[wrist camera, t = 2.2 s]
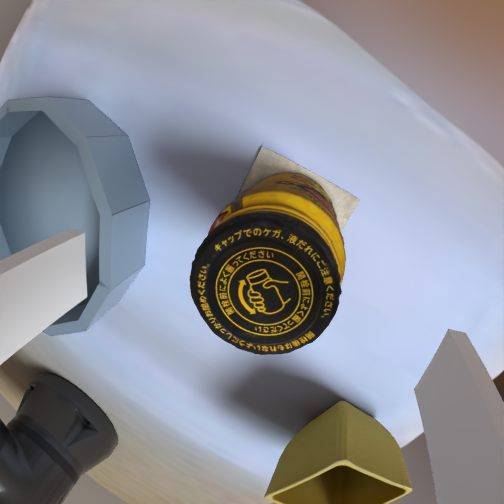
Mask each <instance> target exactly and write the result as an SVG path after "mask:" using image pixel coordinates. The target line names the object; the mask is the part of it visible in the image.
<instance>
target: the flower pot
mask: <svg viewBox="0 0 504 504" xmlns="http://www.w3.org/2000/svg"><path fill="white" fill-rule="evenodd" d="M411 491H412V486H411V483H410V479H409V476H408V472H407V469H406V465H405V462H404V459H403V456H402V453H401V450H400V447H399V445H398V444H397V442H396V440H395V439H394V437H393V436H392V435H391V434H390V432H389V431H388V430H387V429H386V428H385V427H384V426H383V425H382V424H380V423H379V422H378V421H377V420H376V419H374V418H372V417H371V416H369V415H367V414H366V413H364V412H362V411H361V410H359V409H357V408H356V407H354V406H353V405H351V404H350V403H348V402H346V401H343V400H342V401H339V402H337V403H336V404H334V405H333V406H332V407H330V408H329V409H328V410H326V411H325V412H324V413H322V414H321V415H319V416H318V417H316V418H315V419H313V420H312V421H310V422H309V423H308V424H306V425H305V426H304V427H303V428H302V429H301V430H300V431H299V432H298V433H297V434H296V435H295V436H294V437H293V438H292V440H291V441H290V442H289V443H288V445H287V446H286V448H285V449H284V451H283V453H282V455H281V457H280V459H279V461H278V464H277V467H276V469H275V472H274V474H273V477H272V479H271V482H270V484H269V487H268V489H267V492H266V494H265V496H264V497H265V498H267V499H268V500H270V501H272V502H275V503H277V504H388V503H390V502H392V501H394V500H396V499H398V498H400V497H403V496H404V495H406V494H407V493H409V492H411Z"/></svg>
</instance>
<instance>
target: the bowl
mask: <svg viewBox="0 0 504 504" xmlns="http://www.w3.org/2000/svg"><path fill="white" fill-rule="evenodd" d="M149 200H150V199H149V196H148V193H147V190H146V188H145V185H144V182H143V179H142V176H141V173H140V170H139V167H138V165H137V162H136V159H135V156H134V153H133V149H132V146H131V143H130V140H129V137H128V135H127V134H126V133H125V132H124V131H122V130H121V129H120V128H119V127H118V126H117V125H116V124H115V123H114V122H112V121H111V120H110V119H109V118H108V117H107V116H106V115H105V114H103V113H102V112H101V111H100V110H99V109H98V108H97V107H96V106H95V105H93V104H92V103H91V102H90V101H89V100H82V99H70V98H56V97H37V98H25V99H14V100H7V102H6V103H5V104H4V105H3V106H2V107H1V108H0V261H1V260H3V259H5V258H7V257H9V256H11V255H13V254H15V253H17V252H19V251H21V250H23V249H26V248H28V247H30V246H32V245H34V244H36V243H38V242H41V241H43V240H45V239H47V238H49V237H52V236H54V235H56V234H59V233H61V232H63V231H65V230H68V229H70V228H72V229H75V230H79V231H82V232H85V259H86V283H87V298H85V299H84V300H82V301H81V302H80V303H78V304H77V305H76V306H74V307H73V308H72V309H70V310H69V311H68V312H66V313H65V314H64V315H62V316H61V317H60V318H59V319H57V320H56V321H55V322H53V323H52V324H51V325H49V326H48V327H47V328H46V329H44V330H43V331H42V332H44V333H46V334H48V335H50V336H55V335H62V334H69V333H76V332H82V331H86V330H88V329H89V328H90V327H91V326H92V325H93V324H94V323H96V322H97V321H98V320H99V319H100V318H101V317H102V316H104V315H105V314H106V313H107V312H108V311H109V310H110V309H112V308H113V307H114V306H115V305H116V304H117V303H118V302H119V301H120V299H121V298H122V296H123V295H124V293H125V292H126V291H127V289H128V288H129V286H130V285H131V283H132V282H133V281H134V279H135V278H136V276H137V275H138V274H139V272H140V271H141V269H142V268H143V267H144V265H145V252H146V239H147V227H148V216H149V206H150V201H149Z"/></svg>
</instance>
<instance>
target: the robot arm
mask: <svg viewBox="0 0 504 504" xmlns="http://www.w3.org/2000/svg"><path fill="white" fill-rule="evenodd" d="M85 298H87V283H86V259H85V232H82V231H79V230H75V229H72V228H70V229H68V230H65V231H63V232H61V233H59V234H56V235H54V236H52V237H49V238H47V239H45V240H43V241H41V242H38V243H36V244H34V245H32V246H30V247H28V248H26V249H23V250H21V251H19V252H17V253H15V254H13V255H11V256H9V257H7V258H5V259H3V260H1V261H0V365H1V364H2V363H3V362H4V361H6V360H7V359H8V358H9V357H10V356H12V355H13V354H14V353H15V352H17V351H18V350H19V349H20V348H22V347H23V346H24V345H25V344H27V343H28V342H29V341H30V340H32V339H33V338H34V337H35V336H37V335H38V334H39V333H40V332H42V331H43V330H44V329H46V328H47V327H48V326H49V325H51V324H52V323H53V322H55V321H56V320H57V319H59V318H60V317H61V316H62V315H64V314H65V313H66V312H68V311H69V310H70V309H72V308H73V307H74V306H76V305H77V304H78V303H80V302H81V301H82V300H84V299H85ZM414 391H415V395H416V398H417V402H418V406H419V410H420V415H421V419H422V423H423V428H424V432H425V436H426V441H427V446H428V451H429V457H430V462H431V467H432V473H433V479H434V485H435V492H436V499H437V504H504V403H503V401H502V399H501V397H500V395H499V393H498V391H497V389H496V387H495V385H494V383H493V381H492V379H491V377H490V375H489V373H488V371H487V370H486V368H485V366H484V364H483V362H482V361H481V359H480V357H479V355H478V353H477V352H476V350H475V348H474V347H473V345H472V343H471V341H470V340H469V338H468V336H467V335H466V333H464V332H460V331H455V330H451V329H448V331H447V333H446V335H445V337H444V339H443V341H442V342H441V344H440V346H439V348H438V350H437V352H436V353H435V355H434V357H433V359H432V361H431V362H430V364H429V366H428V367H427V369H426V371H425V373H424V374H423V376H422V377H421V379H420V381H419V382H418V384H417V386H416V387H415V389H414ZM117 444H118V436H117V433H116V431H115V429H114V427H113V425H112V424H111V422H110V421H109V419H108V418H107V417H106V415H105V414H104V413H103V412H102V411H101V409H100V408H99V407H98V406H97V405H96V404H95V403H94V402H93V401H92V400H91V399H90V398H89V397H87V396H86V395H85V394H84V393H83V392H81V391H80V390H79V389H78V388H76V387H75V386H74V385H72V384H71V383H69V382H68V381H66V380H64V379H62V378H60V377H58V376H56V375H53V374H50V373H41V374H39V375H38V376H37V377H36V378H35V379H34V380H33V381H32V382H31V383H30V384H29V386H28V388H27V391H26V393H25V395H24V397H23V399H22V401H21V404H20V406H19V408H18V411H17V413H16V415H15V417H14V418H13V419H12V420H11V421H10V422H9V423H8V424H7V426H5V424H4V423H3V422H2V421H1V419H0V504H62V503H63V501H64V500H65V498H66V497H67V495H68V494H69V492H70V491H71V489H72V488H73V486H74V485H75V483H76V482H77V481H78V479H79V478H80V476H81V475H82V474H84V473H85V472H87V471H88V470H90V469H91V468H93V467H94V466H96V465H97V464H99V463H100V462H102V461H103V460H105V459H106V458H108V457H109V456H110V455H111V454H112V452H113V451H114V449H115V448H116V446H117Z"/></svg>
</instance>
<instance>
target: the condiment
mask: <svg viewBox="0 0 504 504" xmlns="http://www.w3.org/2000/svg"><path fill="white" fill-rule="evenodd" d="M359 201H360V200H359V199H358V198H356V197H354V196H353V195H351V194H349V193H348V192H346V191H344V190H343V189H341V188H339V187H337V186H336V185H334V184H332V183H330V182H329V181H327V180H325V179H323V178H322V177H320V176H318V175H316V174H314V173H313V172H311V171H309V170H307V169H305V168H303V167H301V166H300V165H298V164H296V163H294V162H292V161H290V160H288V159H287V158H284V157H282V156H280V155H278V154H277V153H275V152H273V151H271V150H269V149H267V148H265V147H263V146H262V148H261V150H260V152H259V154H258V156H257V158H256V160H255V162H254V164H253V166H252V168H251V170H250V172H249V174H248V176H247V178H246V180H245V182H244V184H243V186H242V188H241V190H240V192H239V194H238V196H237V198H236V200H235V201H233V202H232V203H230V204H228V205H227V206H226V207H225V209H224V210H223V211H222V212H221V213H220V214H219V215H218V217H217V218H216V220H215V222H214V223H213V225H212V226H211V228H210V231H209V233H208V236H207V237H206V238H205V239H204V241H203V243H202V244H201V245H200V247H199V248H198V249H197V252H196V254H195V260H194V261H193V262H192V269H191V275H190V289H191V296H192V298H193V301H194V303H195V305H196V307H197V309H198V311H199V313H200V315H201V317H202V318H203V319H204V321H205V322H206V323H207V325H208V326H209V328H210V329H211V330H212V331H213V332H214V334H216V335H217V336H218V337H220V338H221V339H223V340H224V341H226V342H228V343H230V344H232V345H233V346H235V347H237V348H238V349H241V350H245V351H248V352H252V353H254V354H260V355H267V354H284V353H290V352H292V351H294V350H296V349H299V348H301V347H303V346H305V345H307V344H309V343H312V342H313V341H314V340H316V339H317V338H318V337H319V336H320V335H321V334H322V332H323V331H324V330H325V329H326V328H327V326H328V325H329V324H330V322H331V320H332V319H333V317H334V315H335V314H336V311H337V308H338V305H339V296H340V294H341V292H342V291H341V287H340V286H341V283H342V280H343V276H344V270H345V261H346V257H345V250H344V241H343V237H342V235H341V231H342V229H343V227H344V226H345V224H346V222H347V221H348V219H349V217H350V216H351V214H352V212H353V210H354V209H355V207H356V205H357V204H358V202H359Z"/></svg>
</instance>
